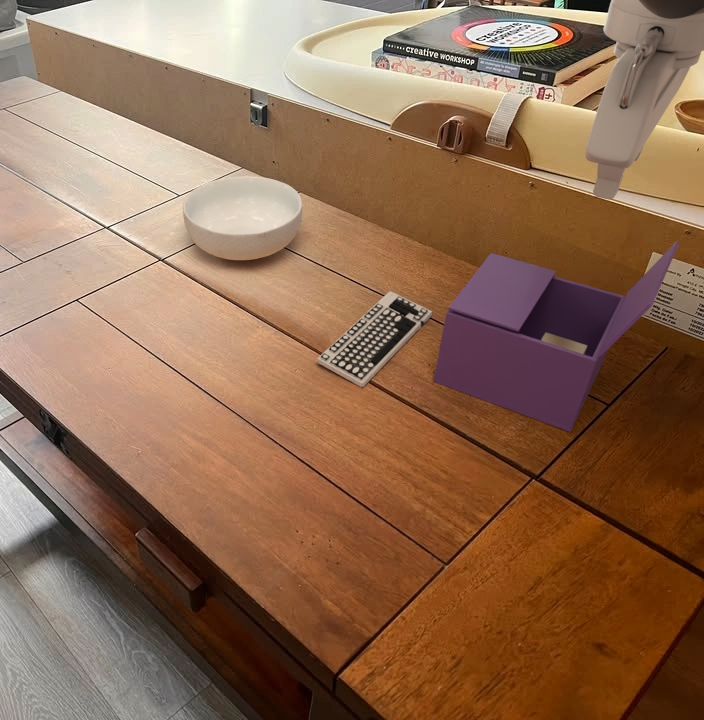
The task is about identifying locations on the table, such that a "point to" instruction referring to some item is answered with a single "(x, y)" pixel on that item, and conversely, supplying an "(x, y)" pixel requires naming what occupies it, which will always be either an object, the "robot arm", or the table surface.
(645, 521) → the table surface
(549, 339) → the block
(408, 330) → the keyboard
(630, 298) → the flap
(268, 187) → the cereal bowl
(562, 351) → the box
